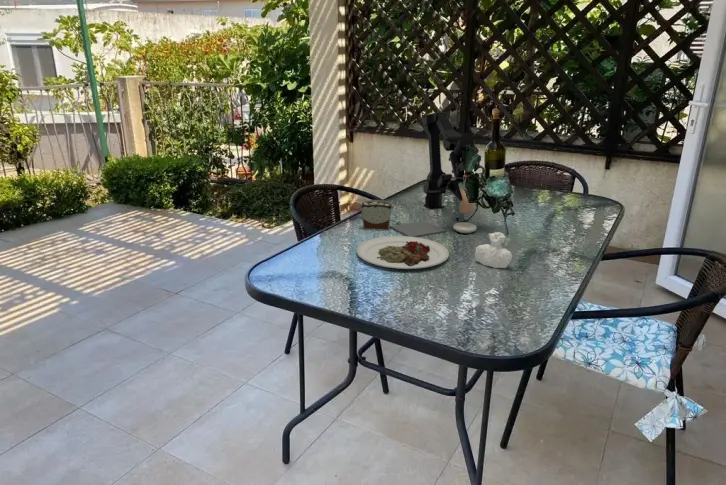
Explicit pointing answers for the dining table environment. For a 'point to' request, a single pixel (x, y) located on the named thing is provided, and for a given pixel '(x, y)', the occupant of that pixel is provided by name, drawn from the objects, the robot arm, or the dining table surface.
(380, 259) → the plated food
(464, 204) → the peach pillar candle
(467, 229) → the cream ceramic bowl
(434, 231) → the rubber mat
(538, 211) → the dining table surface
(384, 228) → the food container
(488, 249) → the white tied sack
